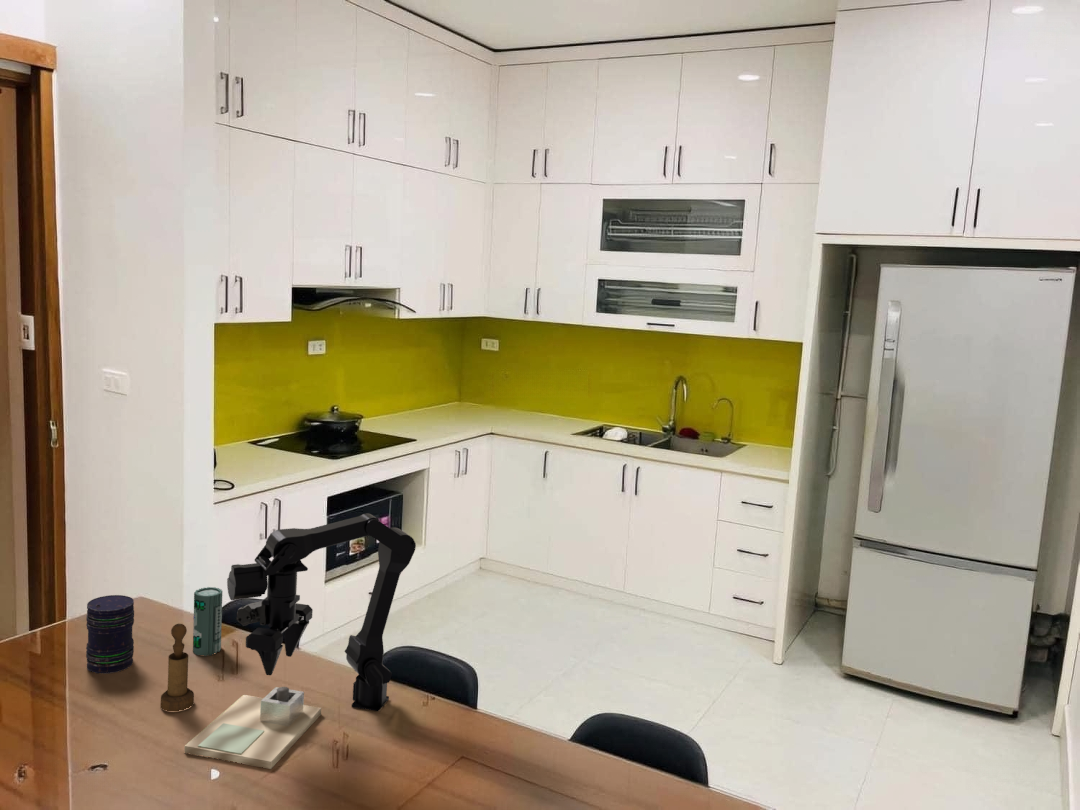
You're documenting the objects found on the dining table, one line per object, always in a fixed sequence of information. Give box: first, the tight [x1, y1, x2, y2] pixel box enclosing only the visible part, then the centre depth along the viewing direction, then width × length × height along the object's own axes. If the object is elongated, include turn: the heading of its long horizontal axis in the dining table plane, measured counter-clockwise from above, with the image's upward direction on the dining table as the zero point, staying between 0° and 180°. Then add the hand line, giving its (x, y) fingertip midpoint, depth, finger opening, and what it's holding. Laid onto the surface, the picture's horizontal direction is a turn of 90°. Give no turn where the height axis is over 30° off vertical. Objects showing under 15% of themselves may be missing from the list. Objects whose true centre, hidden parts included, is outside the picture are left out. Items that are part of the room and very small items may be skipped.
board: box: [183, 686, 322, 770], centre depth 175 cm, size 18×22×8 cm
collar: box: [260, 686, 305, 726], centre depth 179 cm, size 6×6×4 cm
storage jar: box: [85, 594, 135, 675], centre depth 199 cm, size 10×10×15 cm
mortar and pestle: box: [160, 623, 195, 711], centre depth 182 cm, size 7×6×18 cm
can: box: [192, 586, 223, 657], centre depth 210 cm, size 6×6×15 cm
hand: (279, 665), depth 177 cm, fingers open, 9 cm apart
